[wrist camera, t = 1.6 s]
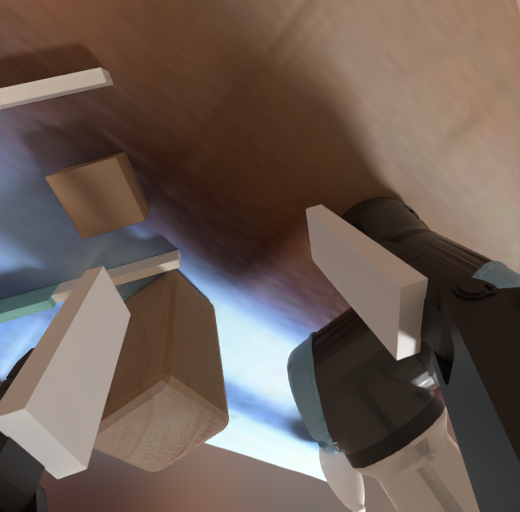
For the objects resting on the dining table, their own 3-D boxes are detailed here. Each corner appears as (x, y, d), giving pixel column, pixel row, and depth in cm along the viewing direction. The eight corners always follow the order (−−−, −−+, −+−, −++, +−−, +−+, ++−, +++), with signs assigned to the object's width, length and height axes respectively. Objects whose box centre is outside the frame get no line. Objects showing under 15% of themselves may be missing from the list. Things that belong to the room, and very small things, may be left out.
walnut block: (125, 151, 33) (115, 157, 28) (150, 207, 36) (145, 220, 32) (64, 168, 32) (44, 177, 28) (95, 223, 35) (82, 239, 31)
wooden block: (119, 302, 41) (67, 443, 23) (173, 263, 40) (161, 379, 23) (167, 339, 46) (154, 479, 28) (216, 305, 45) (234, 427, 27)
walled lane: (108, 71, 29) (97, 65, 25) (181, 257, 40) (180, 270, 36) (-197, 136, 26) (-256, 139, 23) (-29, 316, 37) (-51, 338, 33)
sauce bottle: (347, 428, 70) (393, 519, 54) (330, 447, 72) (369, 540, 57) (323, 424, 67) (365, 519, 51) (306, 444, 69) (340, 542, 54)
